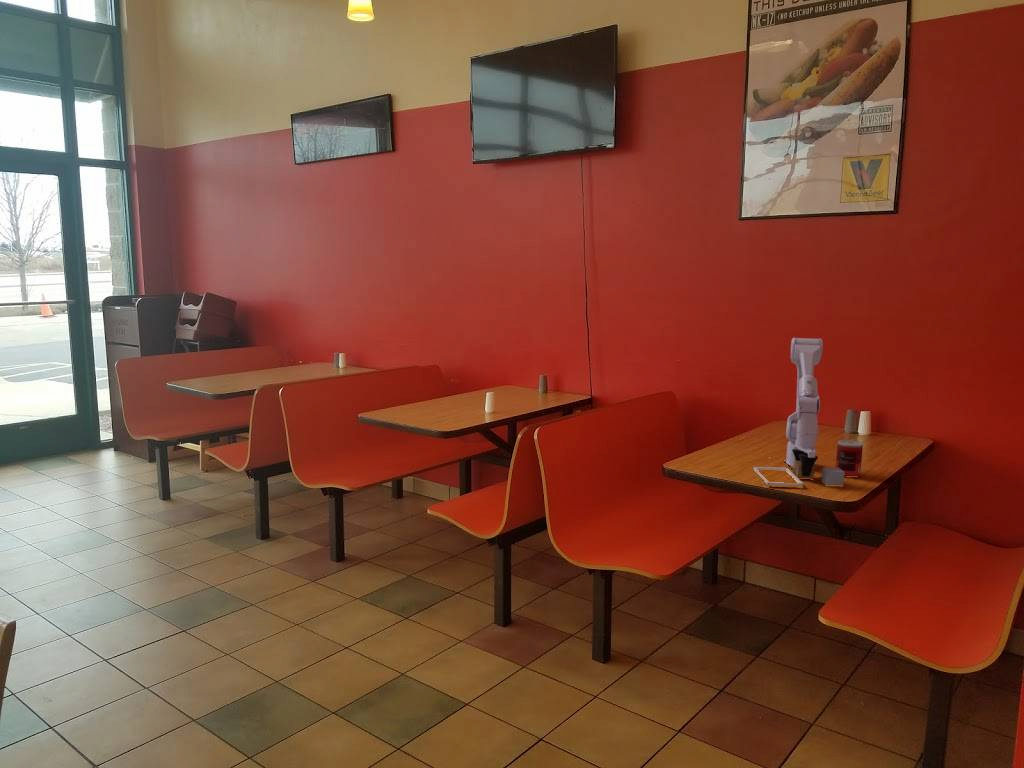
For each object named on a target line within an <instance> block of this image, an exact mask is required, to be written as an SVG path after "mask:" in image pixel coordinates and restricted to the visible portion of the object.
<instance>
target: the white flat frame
mask: <svg viewBox="0 0 1024 768" xmlns="http://www.w3.org/2000/svg"><path fill="white" fill-rule="evenodd" d="M753 470H754V471H755V472H756V473H757V474H758V475H759V476H760V477H761V478H762V479H763V480H764V482H765V483H766V484H767V485H779V486H802V487H803V488H804V485H805V484H804V482H803V480H799V479H798V478H797V477H796V476H795V475H794V474H793V471H791V470H790V469H789V468H788V467H768V466H766V467H765V466H753ZM753 470H752V471H753ZM759 470H777V471H786V472H787V473H788V474H789V475H791V476H792V478H794V480H795V481H796V482H797V483H784V482H769V481H768V480H767V479H766V478H765V477H764V476H763V475H762V474H761V473H760V472H759Z"/></svg>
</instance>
